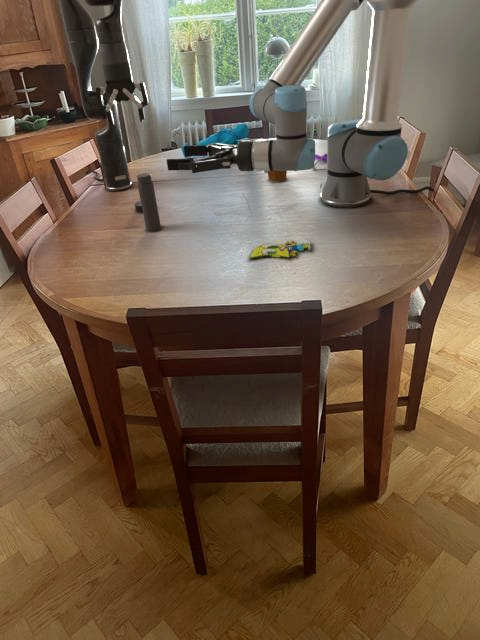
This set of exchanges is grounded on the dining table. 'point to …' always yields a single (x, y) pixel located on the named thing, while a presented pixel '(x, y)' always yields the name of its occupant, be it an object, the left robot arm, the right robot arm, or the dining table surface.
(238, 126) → the toy
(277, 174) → the disposable coffee cup
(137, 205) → the lid
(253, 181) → the dining table surface
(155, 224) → the jar
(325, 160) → the musical instrument
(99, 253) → the dining table surface
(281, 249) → the toy
